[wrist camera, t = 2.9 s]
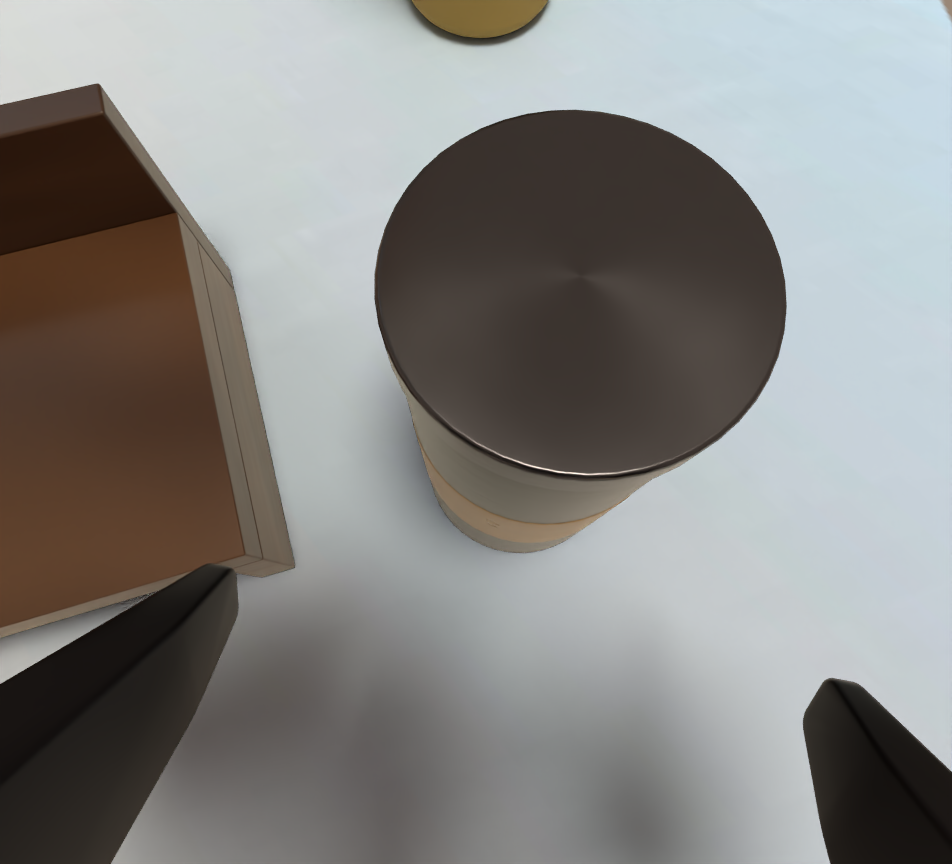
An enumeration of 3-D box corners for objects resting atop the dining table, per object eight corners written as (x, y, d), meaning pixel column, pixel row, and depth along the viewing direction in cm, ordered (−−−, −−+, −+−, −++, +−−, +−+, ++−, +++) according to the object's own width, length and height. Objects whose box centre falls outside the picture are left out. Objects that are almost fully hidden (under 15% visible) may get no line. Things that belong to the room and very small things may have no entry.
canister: (518, 596, 21) (590, 577, 9) (388, 460, 22) (287, 270, 10) (647, 465, 22) (872, 283, 10) (518, 343, 24) (573, 45, 11)
